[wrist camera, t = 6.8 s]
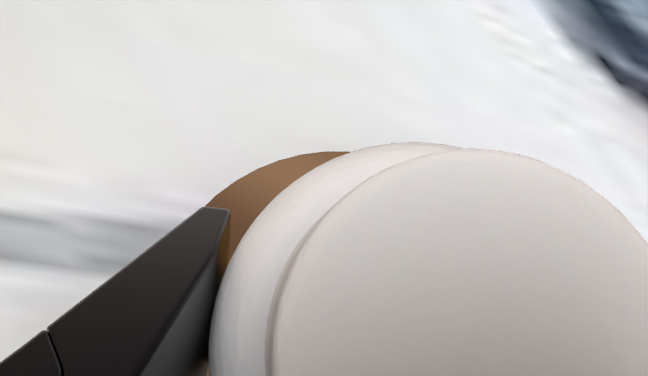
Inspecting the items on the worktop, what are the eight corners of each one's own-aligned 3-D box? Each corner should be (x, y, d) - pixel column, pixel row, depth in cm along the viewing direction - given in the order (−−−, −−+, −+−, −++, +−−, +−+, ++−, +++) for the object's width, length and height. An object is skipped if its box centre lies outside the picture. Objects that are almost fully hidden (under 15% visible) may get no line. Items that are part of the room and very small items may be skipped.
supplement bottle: (392, 193, 16) (590, -13, 6) (492, 386, 15) (904, 498, 5) (201, 284, 15) (78, 208, 5) (295, 495, 14) (359, 879, 4)
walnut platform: (387, 588, 20) (406, 634, 17) (93, 388, 21) (63, 401, 18) (550, 283, 23) (591, 279, 20) (285, 113, 23) (286, 85, 20)
